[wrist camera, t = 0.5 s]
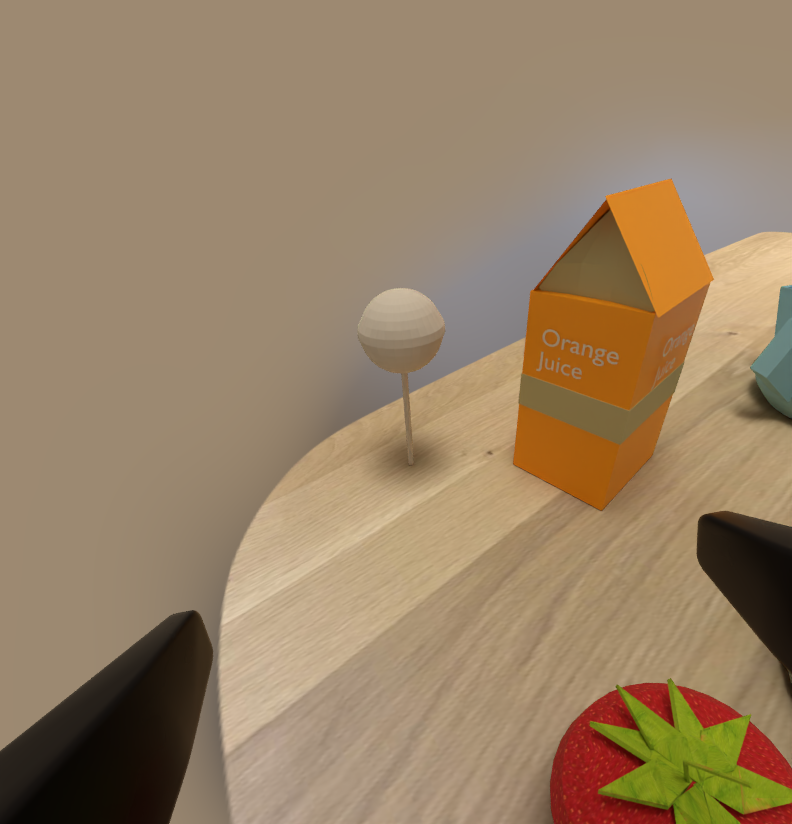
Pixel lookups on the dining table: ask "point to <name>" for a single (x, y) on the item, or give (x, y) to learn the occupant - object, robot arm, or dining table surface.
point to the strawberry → (667, 763)
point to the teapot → (778, 359)
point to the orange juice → (609, 343)
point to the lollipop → (401, 338)
